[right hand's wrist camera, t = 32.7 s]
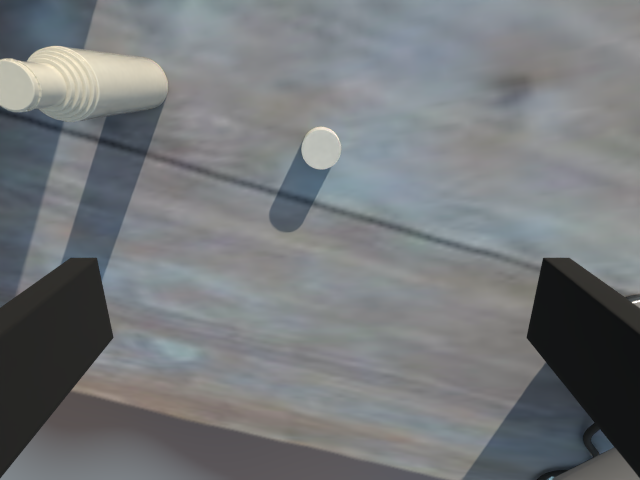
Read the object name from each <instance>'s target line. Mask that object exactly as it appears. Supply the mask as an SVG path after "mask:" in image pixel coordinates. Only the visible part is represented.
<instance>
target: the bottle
mask: <svg viewBox="0 0 640 480" xmlns="http://www.w3.org/2000/svg"><path fill="white" fill-rule="evenodd" d="M167 92H168V82H167V78H166V75H165V73H164V72H163V70H162V69H161V67H160V66H159V65H158V64H157V63H155V62H154V61H152V60H150V59H148V58H144V57H137V56H130V55H122V54H115V53H107V52H100V51H92V50H85V49H77V48H70V47H62V46H50V47H46V48H43V49H40V50H38V51H36V52H35V53H33V54H32V55H31V56H30V57H29V59H28V60H27V61H18V60H15V59H1V60H0V106H1V107H3V108H5V109H6V110H8V111H12V112H28V111H31V110H33V109H39V110H40V111H42V112H43V113H44V114H46V115H47V116H49V117H51V118H54V119H57V120H61V121H65V122H77V121H83V120H89V119H95V118H101V117H107V116H113V115H119V114H125V113H131V112H137V111H143V110H149V109H154V108H156V107H158V106H159V105H161V104H162V103H163V101H164V100H165V98H166V96H167Z"/></svg>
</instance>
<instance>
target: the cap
mask: <svg viewBox="0 0 640 480" xmlns="http://www.w3.org/2000/svg"><path fill="white" fill-rule="evenodd" d="M301 152H302V156H303V159H304V160H305V162H306V163H307V164H308V165H309V166H311V167H312V168H315V169H319V170H323V169H328V168H330V167H332V166H333V165H334V164H335V163H336V162H337V161H338V159H339V157H340V154H341V145H340V142H339V139H338V137H337V135H336V134H335V133H334V132H333V131H332V130H330V129H328V128H325V127H317V128H314V129H312V130H310V131H309V132H308V133H307V134H306V136H305V137H304V139H303V143H302V147H301Z"/></svg>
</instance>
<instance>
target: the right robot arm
mask: <svg viewBox="0 0 640 480" xmlns="http://www.w3.org/2000/svg"><path fill="white" fill-rule="evenodd" d="M112 339H113V333H112V329H111V324H110V319H109V314H108V309H107V305H106V300H105V295H104V290H103V285H102V281H101V276H100V271H99V266H98V261H97V258H70V259H69V260H67V261H66V262H64V263H63V264H61V265H60V266H59V267H57V268H56V269H54V270H53V271H52V272H50V273H49V274H47V275H46V276H45V277H43V278H42V279H40V280H39V281H38V282H36V283H35V284H33V285H32V286H30V287H29V288H28V289H26V290H25V291H23V292H22V293H21V294H19V295H18V296H16V297H15V298H14V299H12V300H11V301H9V302H8V303H7V304H5V305H4V306H2V307H1V308H0V478H1V477H2V475H3V474H4V473H5V472H6V470H7V469H8V468H9V467H10V465H11V464H12V463H13V462H14V461H15V459H16V458H17V457H18V455H19V454H20V453H21V452H22V451H23V449H24V448H25V447H26V446H27V444H28V443H29V442H30V441H31V439H32V438H33V437H34V436H35V434H36V433H37V432H38V431H39V429H40V428H41V427H42V426H43V424H44V423H45V422H46V421H47V420H48V418H49V417H50V416H51V415H52V413H53V412H54V411H55V410H56V408H57V407H58V406H59V405H60V403H61V402H62V401H63V400H64V398H65V397H66V396H67V395H68V393H69V392H70V391H71V390H72V388H73V387H74V386H75V385H76V383H77V382H78V381H79V380H80V379H81V377H82V376H83V375H84V374H85V372H86V371H87V370H88V369H89V367H90V366H91V365H92V364H93V362H94V361H95V360H96V359H97V357H98V356H99V355H100V354H101V352H102V351H103V350H104V349H105V347H106V346H107V345H108V344H109V342H110V341H111V340H112ZM527 339H528V340H529V341H530V342H531V344H532V345H533V346H534V347H535V349H536V350H537V351H538V352H539V354H540V355H541V356H542V357H543V359H544V360H545V361H546V362H547V364H548V365H549V366H550V367H551V369H552V370H553V371H554V372H555V374H556V375H557V376H558V377H559V379H560V380H561V381H562V382H563V383H564V385H565V386H566V387H567V388H568V390H569V391H570V392H571V393H572V395H573V396H574V397H575V398H576V400H577V401H578V402H579V403H580V405H581V406H582V407H583V408H584V410H585V411H586V412H587V413H588V415H589V416H590V417H591V418H592V420H593V421H594V422H595V423H594V424H593V425H591V426H590V427H589V428H588V429H587V430H586V432H585V433H584V436H583V441H584V444H585V446H586V447H587V449H588V450H589V451H590V452H591V454H592V455H593V458H592V459H590V460H588V461H586V462H584V463H582V464H580V465H578V466H576V467H574V468H572V469H570V470H559V471H552V472H549V473H546V474H544V475H542V476H540V477H539V478H538V479H537V480H640V295H633V296H628V297H624V296H622V295H621V294H619V293H618V292H617V291H615V290H614V289H612V288H611V287H610V286H608V285H607V284H605V283H604V282H602V281H601V280H600V279H598V278H597V277H595V276H594V275H593V274H591V273H590V272H588V271H587V270H586V269H584V268H583V267H581V266H580V265H579V264H577V263H576V262H574V261H573V260H571V259H570V258H543V261H542V266H541V271H540V276H539V281H538V285H537V290H536V295H535V300H534V305H533V309H532V314H531V319H530V324H529V329H528V333H527ZM599 429H601V431H602V432H603V433H604V434H605V436H606V437H607V438H608V439H609V441H610V442H611V443H612V444H613V446H614V448H612V449H610V450H608V451H606V452H604V453H602V454H600V455H599V453H598V451H597V450H596V448H595V447H594V446H593V445H592V443H591V437H592V436H593V434H595V433H596V432H597V431H598V430H599Z"/></svg>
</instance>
